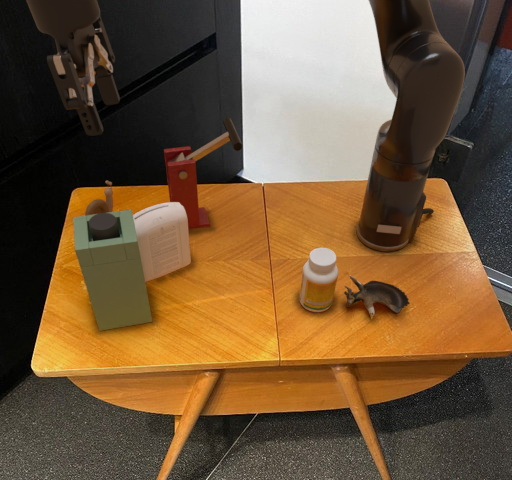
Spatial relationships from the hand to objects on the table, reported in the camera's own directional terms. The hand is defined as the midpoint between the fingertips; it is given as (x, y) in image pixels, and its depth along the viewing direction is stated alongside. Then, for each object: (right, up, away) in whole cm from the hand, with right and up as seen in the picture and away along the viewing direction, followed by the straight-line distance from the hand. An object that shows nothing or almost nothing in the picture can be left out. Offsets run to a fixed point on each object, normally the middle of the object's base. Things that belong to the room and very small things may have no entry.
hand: (104, 118), depth 72 cm
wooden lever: (+12, +1, +18) cm, 22 cm away
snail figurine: (-5, -14, +22) cm, 27 cm away
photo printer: (+4, -18, +19) cm, 27 cm away
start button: (0, -16, +2) cm, 16 cm away
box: (-1, -25, +13) cm, 28 cm away
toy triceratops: (+38, -25, +15) cm, 48 cm away
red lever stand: (+7, -8, +27) cm, 29 cm away
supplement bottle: (+30, -23, +15) cm, 41 cm away
